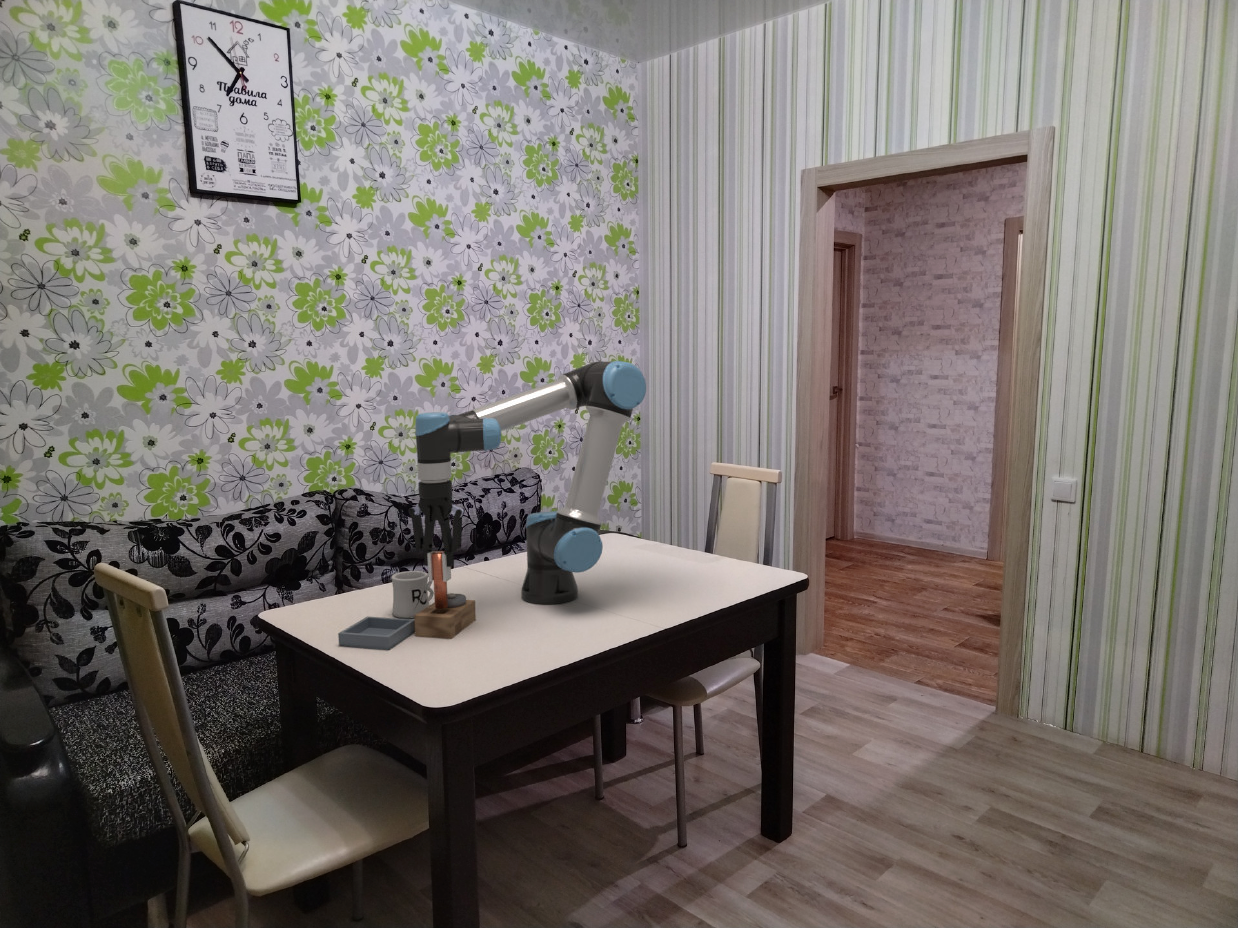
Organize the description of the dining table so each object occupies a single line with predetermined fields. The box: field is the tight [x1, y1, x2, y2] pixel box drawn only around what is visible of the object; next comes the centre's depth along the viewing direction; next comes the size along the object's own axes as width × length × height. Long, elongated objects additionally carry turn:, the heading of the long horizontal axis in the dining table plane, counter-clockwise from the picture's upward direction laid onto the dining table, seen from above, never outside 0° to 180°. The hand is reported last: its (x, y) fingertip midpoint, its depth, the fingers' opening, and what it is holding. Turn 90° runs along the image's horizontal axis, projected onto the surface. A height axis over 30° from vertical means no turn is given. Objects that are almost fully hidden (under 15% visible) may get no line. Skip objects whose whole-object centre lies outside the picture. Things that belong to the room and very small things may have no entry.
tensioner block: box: [414, 592, 477, 640], centre depth 197 cm, size 9×14×7 cm, turn 167°
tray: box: [337, 615, 415, 651], centre depth 190 cm, size 12×12×3 cm
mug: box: [390, 570, 434, 619], centre depth 209 cm, size 12×9×10 cm
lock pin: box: [432, 550, 448, 609], centre depth 193 cm, size 3×3×13 cm
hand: (440, 579), depth 193 cm, fingers closed on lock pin, 3 cm apart
